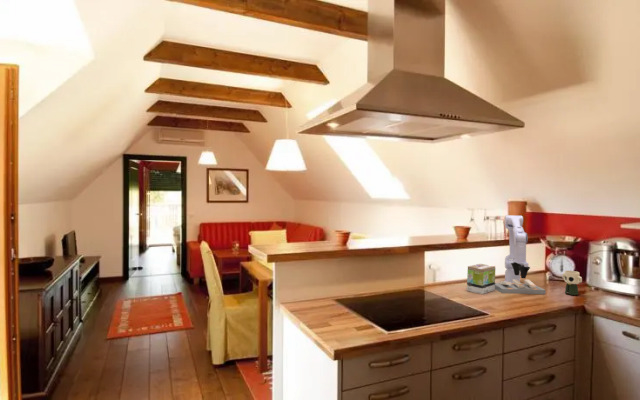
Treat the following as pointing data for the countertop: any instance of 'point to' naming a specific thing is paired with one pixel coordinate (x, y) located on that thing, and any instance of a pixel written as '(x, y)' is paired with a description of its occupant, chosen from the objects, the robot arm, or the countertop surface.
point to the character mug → (571, 281)
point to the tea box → (481, 278)
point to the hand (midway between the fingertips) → (520, 276)
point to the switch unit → (518, 289)
